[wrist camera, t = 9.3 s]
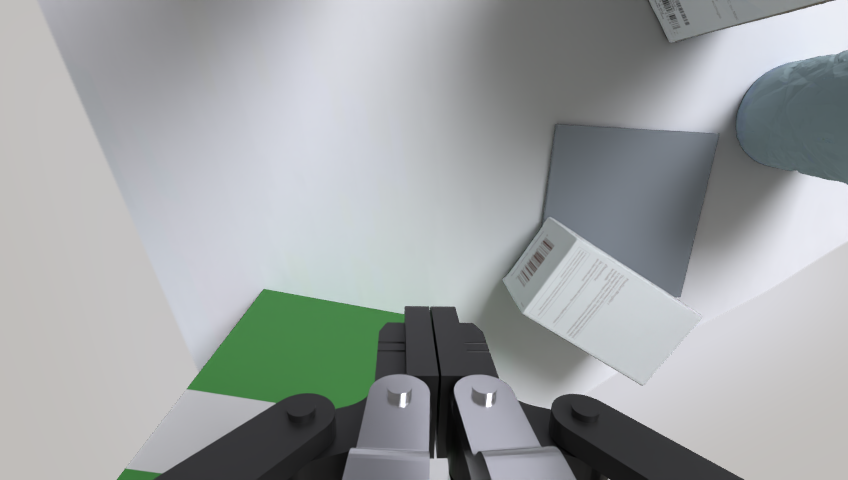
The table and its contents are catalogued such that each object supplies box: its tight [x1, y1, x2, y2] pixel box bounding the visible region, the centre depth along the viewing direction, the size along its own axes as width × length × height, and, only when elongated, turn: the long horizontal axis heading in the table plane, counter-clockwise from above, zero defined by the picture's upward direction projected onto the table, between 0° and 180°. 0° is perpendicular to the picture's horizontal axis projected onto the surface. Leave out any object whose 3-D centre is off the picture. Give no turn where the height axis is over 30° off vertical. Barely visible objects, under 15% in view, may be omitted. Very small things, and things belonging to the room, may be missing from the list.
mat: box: [542, 124, 719, 297], centre depth 40 cm, size 15×14×1 cm
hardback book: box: [117, 289, 449, 480], centre depth 31 cm, size 18×7×24 cm, turn 78°
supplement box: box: [503, 217, 702, 386], centre depth 38 cm, size 7×7×13 cm
